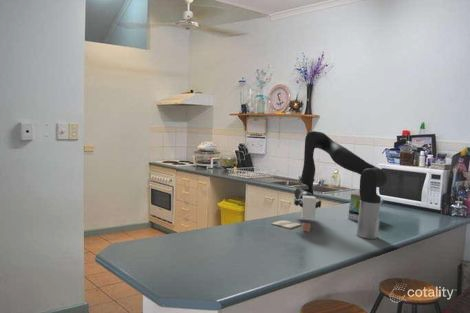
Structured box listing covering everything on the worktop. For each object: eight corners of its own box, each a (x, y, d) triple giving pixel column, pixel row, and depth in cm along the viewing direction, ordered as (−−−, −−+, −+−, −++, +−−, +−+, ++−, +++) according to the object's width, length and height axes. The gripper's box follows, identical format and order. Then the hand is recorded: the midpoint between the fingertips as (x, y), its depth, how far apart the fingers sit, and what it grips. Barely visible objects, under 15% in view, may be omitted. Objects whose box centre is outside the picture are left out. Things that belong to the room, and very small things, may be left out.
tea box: (364, 223, 224) (367, 196, 222) (347, 219, 230) (350, 193, 228) (373, 218, 236) (376, 194, 234) (357, 215, 242) (359, 191, 240)
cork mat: (301, 225, 207) (301, 224, 207) (290, 229, 198) (290, 227, 198) (282, 220, 214) (282, 219, 213) (271, 224, 205) (271, 223, 205)
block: (309, 229, 200) (309, 222, 200) (309, 231, 196) (310, 224, 196) (302, 229, 200) (302, 222, 200) (302, 231, 197) (303, 224, 196)
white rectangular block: (313, 216, 200) (314, 196, 199) (314, 218, 194) (316, 198, 193) (301, 215, 201) (302, 195, 200) (301, 217, 195) (303, 197, 194)
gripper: (293, 191, 211) (294, 197, 195) (320, 193, 210) (324, 199, 193) (292, 205, 212) (293, 212, 195) (319, 207, 211) (323, 214, 194)
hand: (309, 205), depth 195 cm, fingers closed on white rectangular block, 6 cm apart
